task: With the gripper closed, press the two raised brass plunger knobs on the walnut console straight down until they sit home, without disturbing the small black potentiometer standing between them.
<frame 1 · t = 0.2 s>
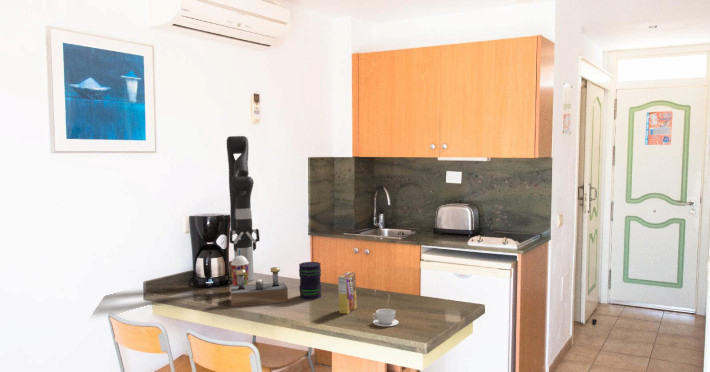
hand: (245, 251, 278), 18 cm above the table, tool pointing down, fingers open, 8 cm apart
mount: (259, 300, 254), on the table
teacup: (385, 323, 219), on the table
storage jar: (310, 297, 259), on the table
potentiometer: (259, 289, 250), point 6 cm above the table, touching mount
candy box: (347, 311, 236), on the table
knob a: (241, 280, 252), point 9 cm above the table, slide at 4.0 cm
smoothie: (240, 292, 270), on the table
knob b: (275, 278, 255), point 9 cm above the table, slide at 4.0 cm
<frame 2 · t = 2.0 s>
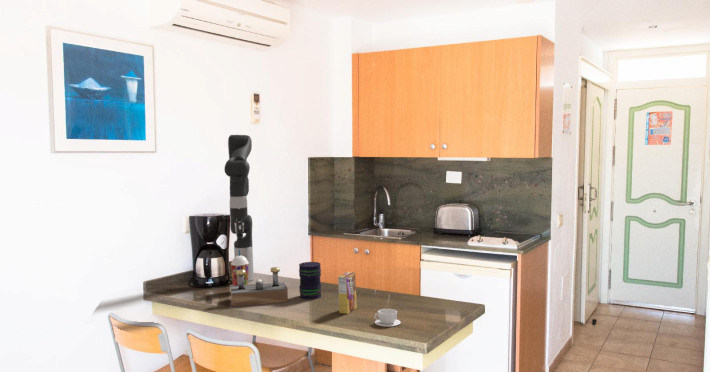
hand: (239, 245, 250), 25 cm above the table, tool pointing down, fingers open, 3 cm apart
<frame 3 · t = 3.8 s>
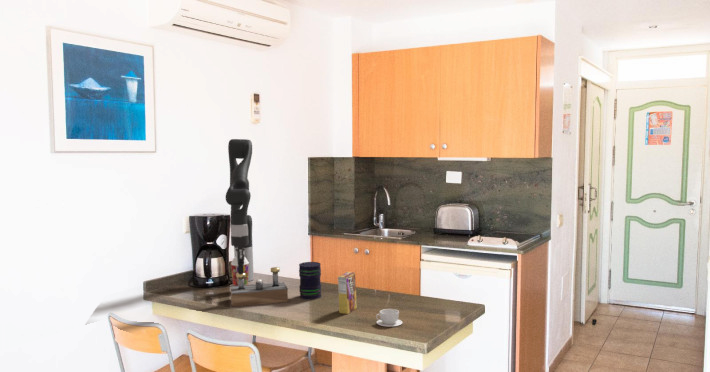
hand: (240, 273, 251), 13 cm above the table, tool pointing down, fingers closed
knob a: (241, 283, 252), point 8 cm above the table, slide at 2.7 cm, touching gripper
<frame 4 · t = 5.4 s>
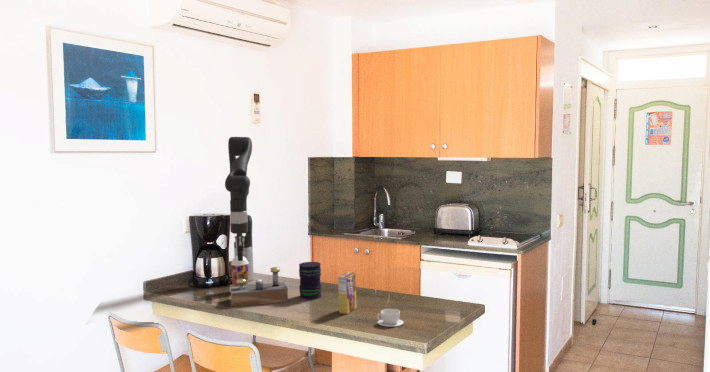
hand: (240, 260, 251), 18 cm above the table, tool pointing down, fingers closed
knob a: (241, 289, 252), point 5 cm above the table, slide at 0.0 cm
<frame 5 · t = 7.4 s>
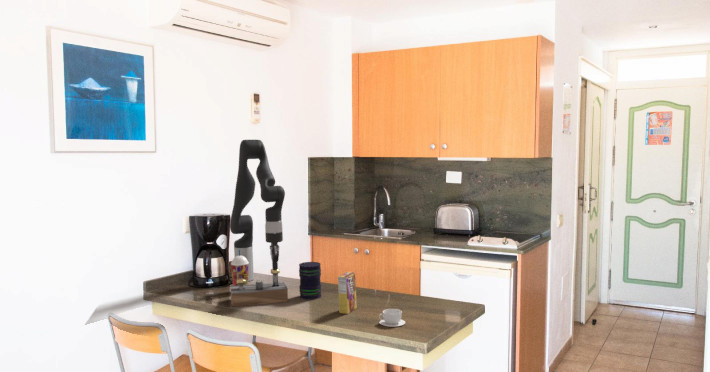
hand: (275, 269, 255), 13 cm above the table, tool pointing down, fingers closed
knob b: (275, 279, 255), point 9 cm above the table, slide at 3.4 cm, touching gripper
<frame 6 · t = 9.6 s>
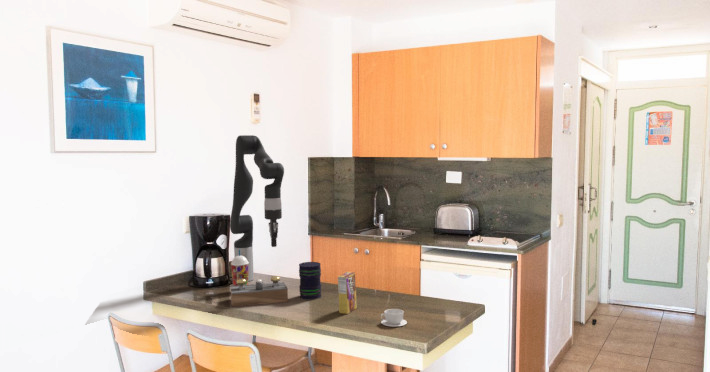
hand: (273, 246, 255), 24 cm above the table, tool pointing down, fingers closed
knob b: (275, 287, 256), point 5 cm above the table, slide at 0.0 cm
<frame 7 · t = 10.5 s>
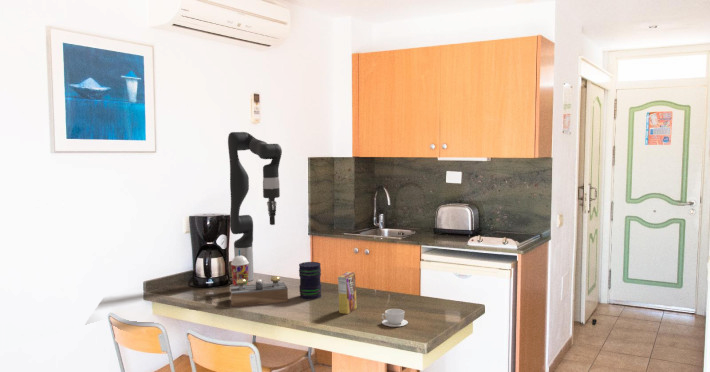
hand: (272, 224, 264), 32 cm above the table, tool pointing down, fingers closed
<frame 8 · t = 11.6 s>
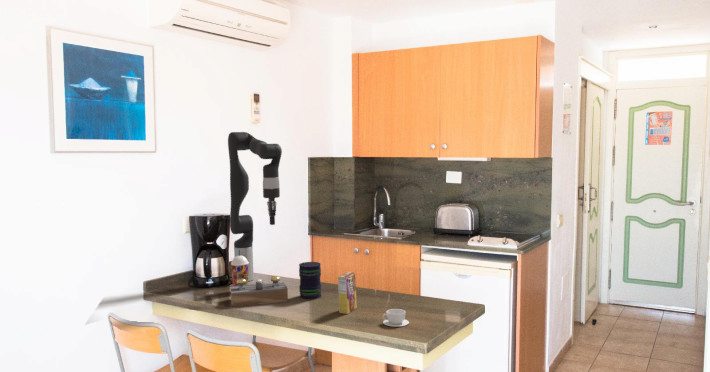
hand: (272, 224, 264), 32 cm above the table, tool pointing down, fingers closed
at the end: knob a slide at 0.0 cm; knob b slide at 0.0 cm; potentiometer moved 0.1 cm from its start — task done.
